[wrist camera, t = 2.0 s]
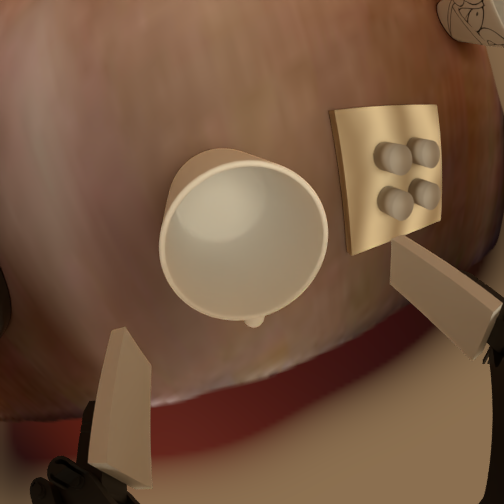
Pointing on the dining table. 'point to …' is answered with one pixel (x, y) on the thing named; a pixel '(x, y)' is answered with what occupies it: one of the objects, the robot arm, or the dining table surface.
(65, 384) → the dining table surface
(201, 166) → the mug
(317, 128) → the dining table surface
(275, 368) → the dining table surface
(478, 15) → the mug
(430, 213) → the peg stand
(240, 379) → the dining table surface
